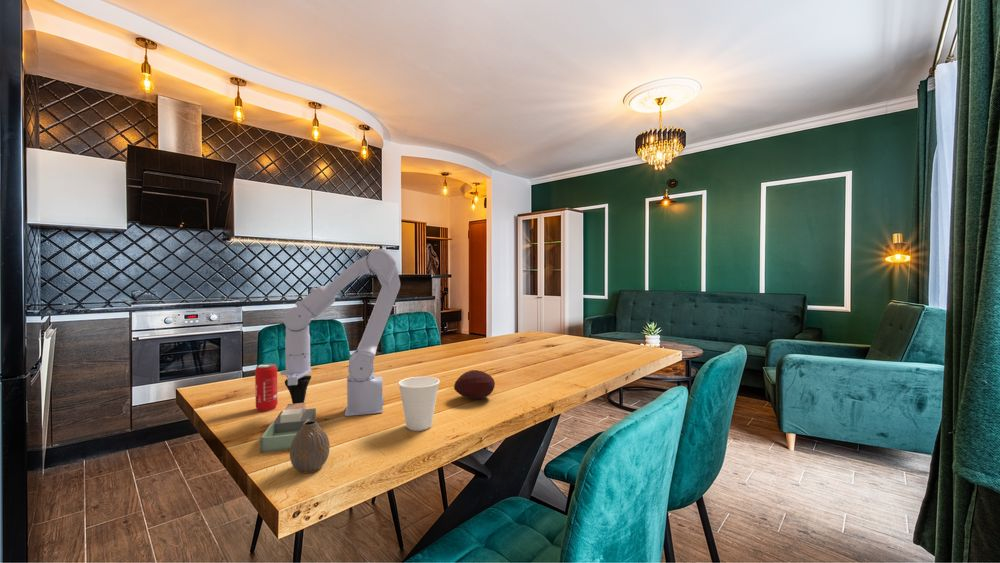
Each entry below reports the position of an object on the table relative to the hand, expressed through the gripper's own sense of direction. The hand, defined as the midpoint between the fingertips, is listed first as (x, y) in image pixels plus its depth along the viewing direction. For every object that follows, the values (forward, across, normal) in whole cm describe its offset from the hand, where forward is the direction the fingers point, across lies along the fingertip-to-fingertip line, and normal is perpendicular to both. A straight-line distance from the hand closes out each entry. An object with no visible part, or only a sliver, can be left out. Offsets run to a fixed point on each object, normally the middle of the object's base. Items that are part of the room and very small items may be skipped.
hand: (298, 405), depth 103 cm
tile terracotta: (0, +4, 0) cm, 4 cm away
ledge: (+3, +6, 0) cm, 7 cm away
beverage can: (+3, -10, -10) cm, 14 cm away
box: (+3, +16, 0) cm, 16 cm away
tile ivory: (0, +8, 0) cm, 9 cm away
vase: (+3, +30, +8) cm, 31 cm away
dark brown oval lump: (+3, -2, +47) cm, 47 cm away
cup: (+3, +15, +29) cm, 33 cm away
